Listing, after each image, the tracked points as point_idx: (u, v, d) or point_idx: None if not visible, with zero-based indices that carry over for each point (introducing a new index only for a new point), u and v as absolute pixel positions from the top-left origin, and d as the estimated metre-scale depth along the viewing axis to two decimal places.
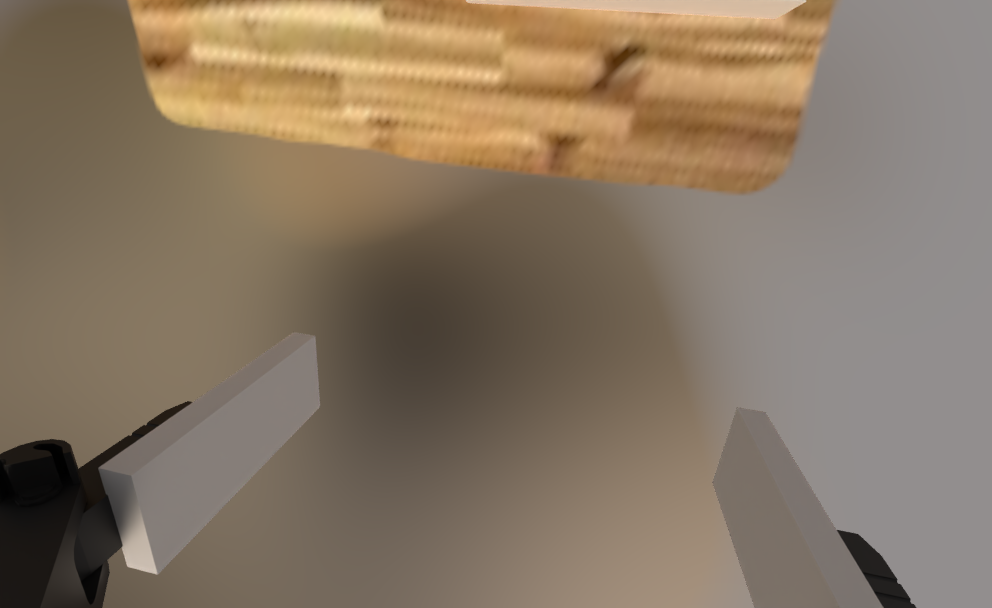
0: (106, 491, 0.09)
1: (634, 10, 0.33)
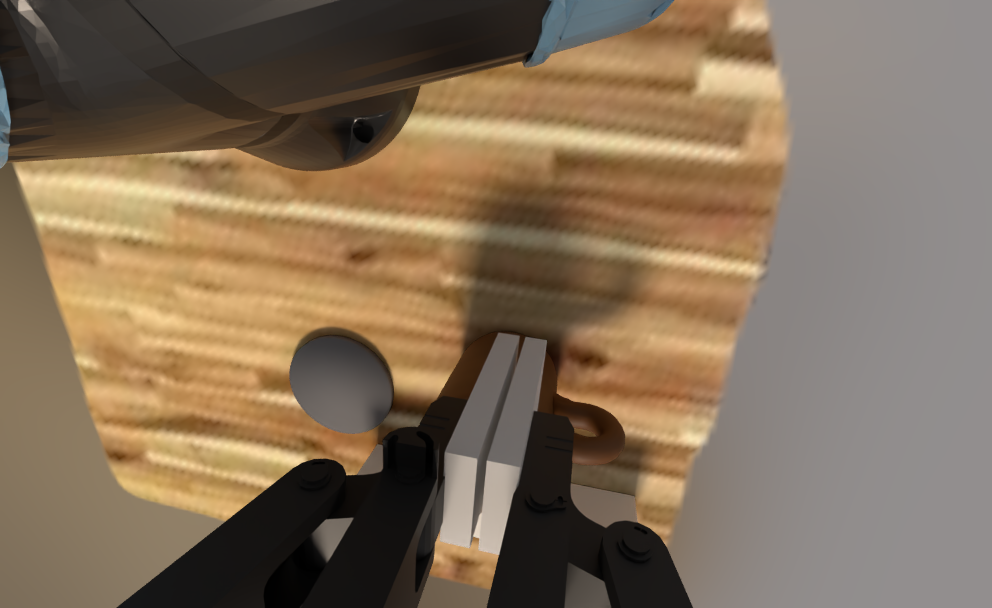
0: (444, 473, 0.11)
1: None
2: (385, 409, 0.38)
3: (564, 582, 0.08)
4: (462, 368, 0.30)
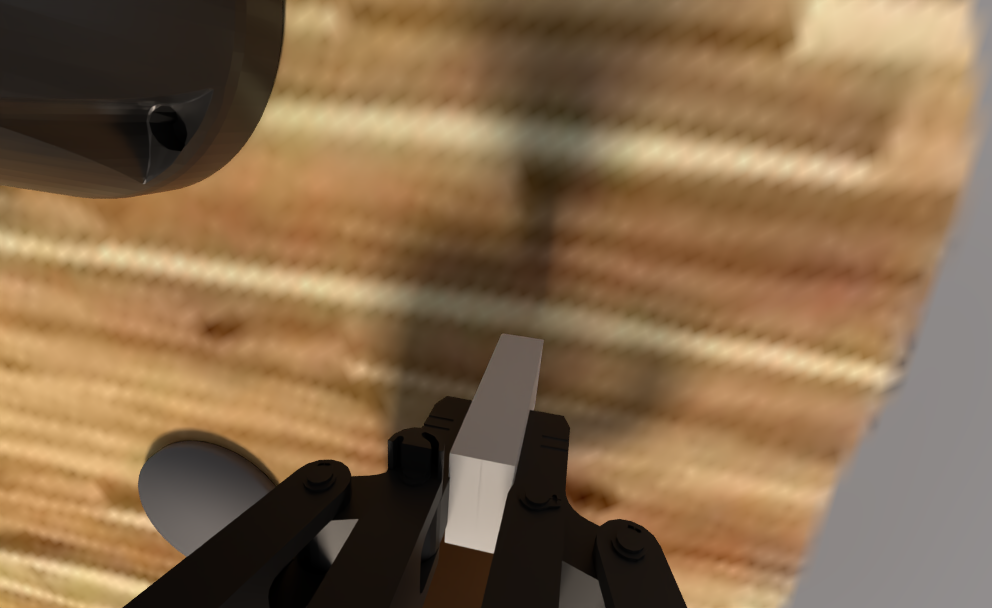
0: (449, 474, 0.11)
1: None
2: None
3: (558, 580, 0.08)
4: None
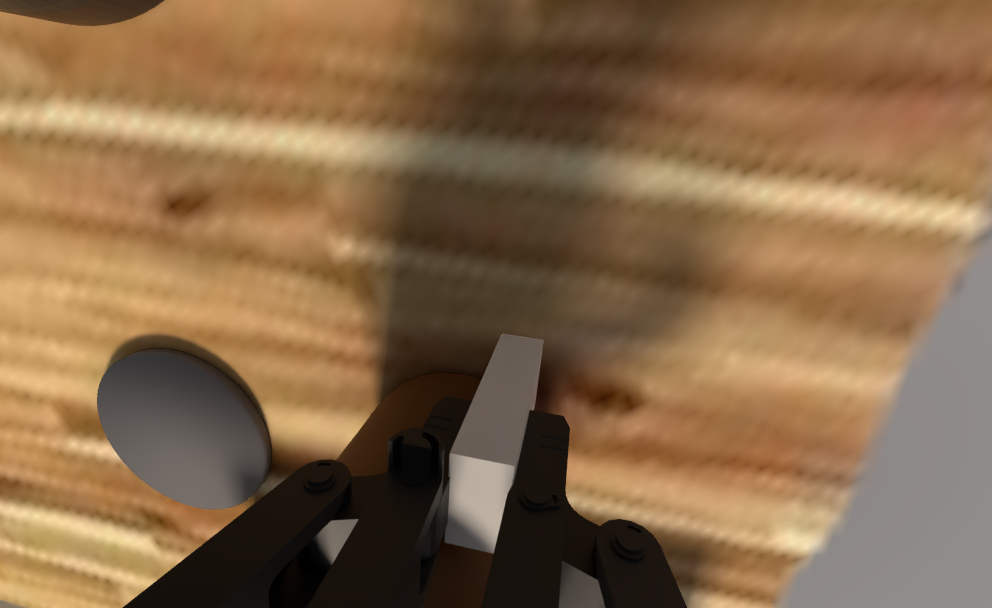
0: (449, 474, 0.11)
1: None
2: (257, 474, 0.23)
3: (558, 580, 0.08)
4: (343, 463, 0.14)
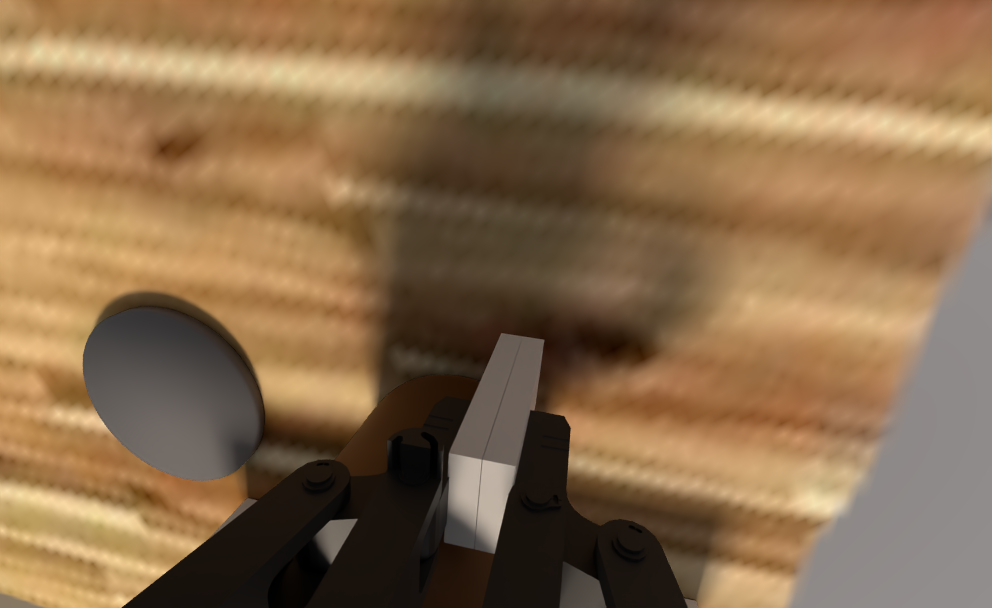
0: (448, 474, 0.11)
1: None
2: (249, 440, 0.21)
3: (559, 580, 0.08)
4: None
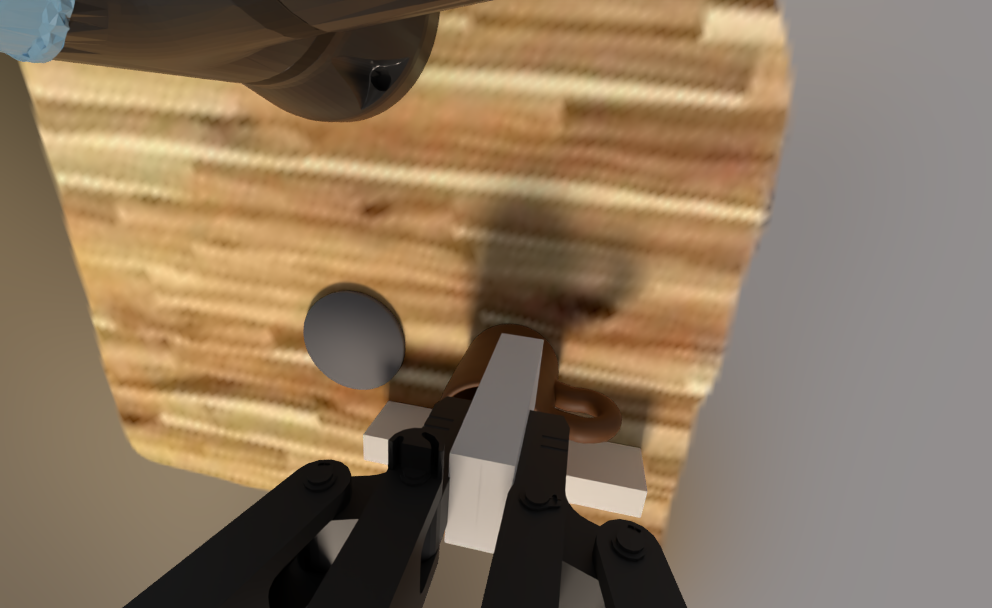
0: (449, 474, 0.11)
1: None
2: (397, 364, 0.39)
3: (559, 580, 0.08)
4: (470, 357, 0.32)
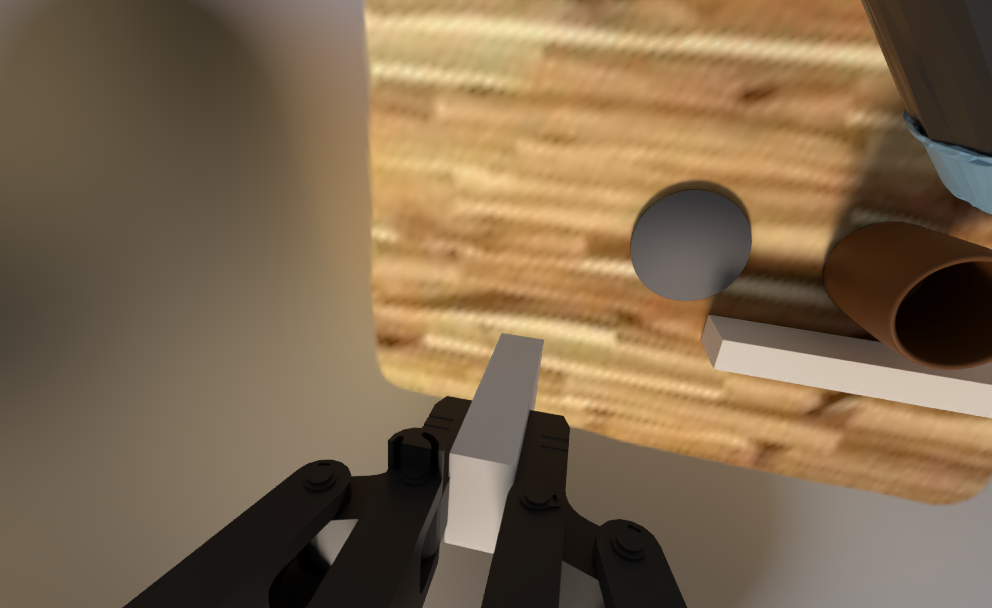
0: (449, 474, 0.11)
1: None
2: (738, 271, 0.37)
3: (558, 580, 0.08)
4: (899, 244, 0.30)
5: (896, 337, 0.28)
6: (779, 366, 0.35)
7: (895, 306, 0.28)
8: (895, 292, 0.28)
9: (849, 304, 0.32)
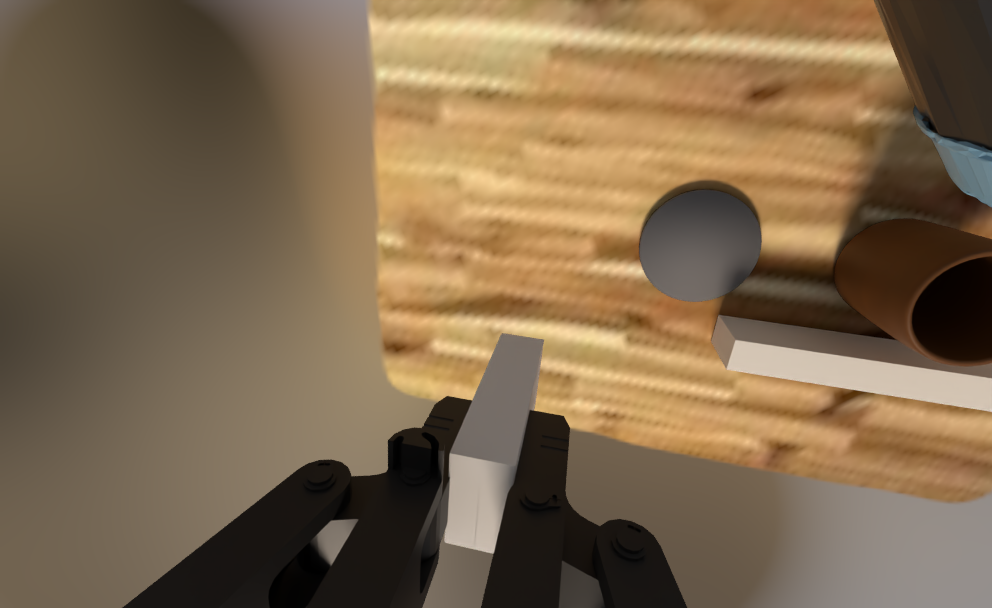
0: (449, 474, 0.11)
1: None
2: (748, 270, 0.37)
3: (558, 580, 0.08)
4: (912, 240, 0.30)
5: (913, 334, 0.28)
6: (792, 365, 0.34)
7: (912, 303, 0.27)
8: (911, 289, 0.27)
9: (862, 302, 0.32)
